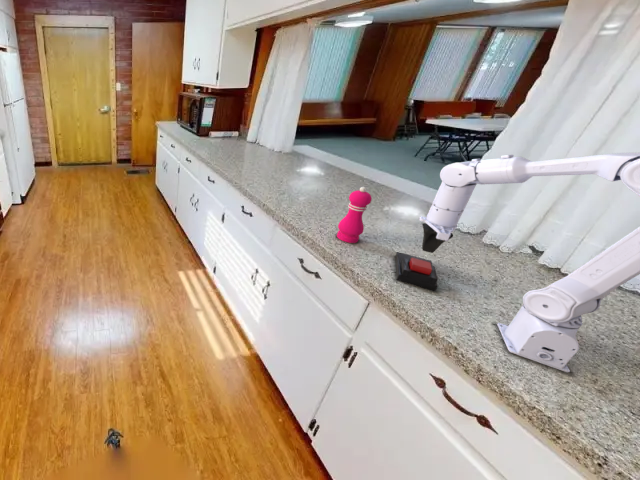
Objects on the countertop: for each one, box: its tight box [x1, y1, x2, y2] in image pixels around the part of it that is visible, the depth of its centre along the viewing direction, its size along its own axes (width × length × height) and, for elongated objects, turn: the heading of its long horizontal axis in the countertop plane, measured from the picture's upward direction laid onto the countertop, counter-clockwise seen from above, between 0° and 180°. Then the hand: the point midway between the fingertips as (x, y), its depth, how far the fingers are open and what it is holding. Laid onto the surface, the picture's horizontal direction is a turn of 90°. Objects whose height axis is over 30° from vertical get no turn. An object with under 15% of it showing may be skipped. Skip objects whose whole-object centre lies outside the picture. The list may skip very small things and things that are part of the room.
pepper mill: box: [336, 186, 373, 244], centre depth 101 cm, size 7×7×20 cm
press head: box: [409, 258, 432, 275], centre depth 83 cm, size 4×4×2 cm
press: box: [394, 251, 439, 292], centre depth 86 cm, size 14×8×4 cm, turn 142°
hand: (427, 250), depth 81 cm, fingers closed
